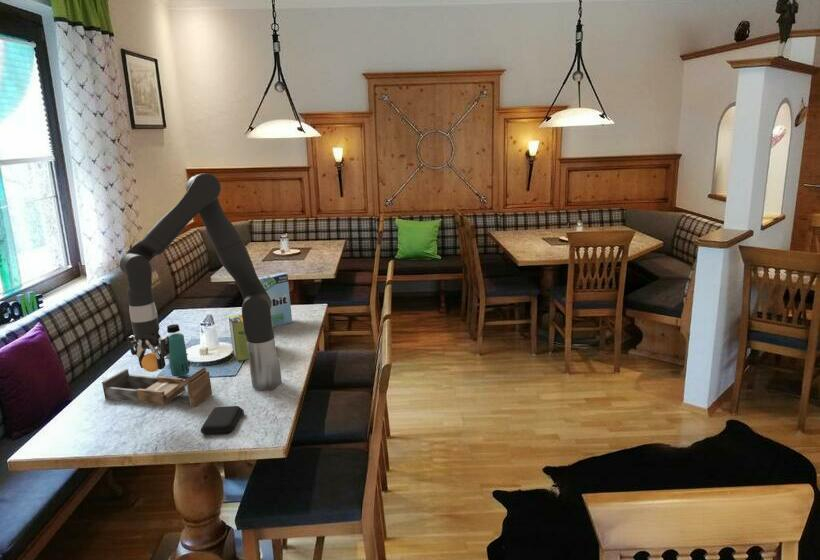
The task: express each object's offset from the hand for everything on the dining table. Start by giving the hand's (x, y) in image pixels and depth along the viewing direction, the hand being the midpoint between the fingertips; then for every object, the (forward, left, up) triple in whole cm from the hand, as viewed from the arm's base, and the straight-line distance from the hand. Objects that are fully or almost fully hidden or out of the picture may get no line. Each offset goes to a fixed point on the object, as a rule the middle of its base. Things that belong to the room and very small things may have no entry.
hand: (152, 367), depth 183 cm
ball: (0, 0, +2) cm, 2 cm away
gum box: (+6, -82, -16) cm, 84 cm away
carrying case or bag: (-25, +2, -16) cm, 30 cm away
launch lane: (+8, -10, -15) cm, 20 cm away
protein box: (-4, -51, -16) cm, 53 cm away
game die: (+22, -37, -16) cm, 46 cm away
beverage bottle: (+11, -25, -16) cm, 32 cm away
